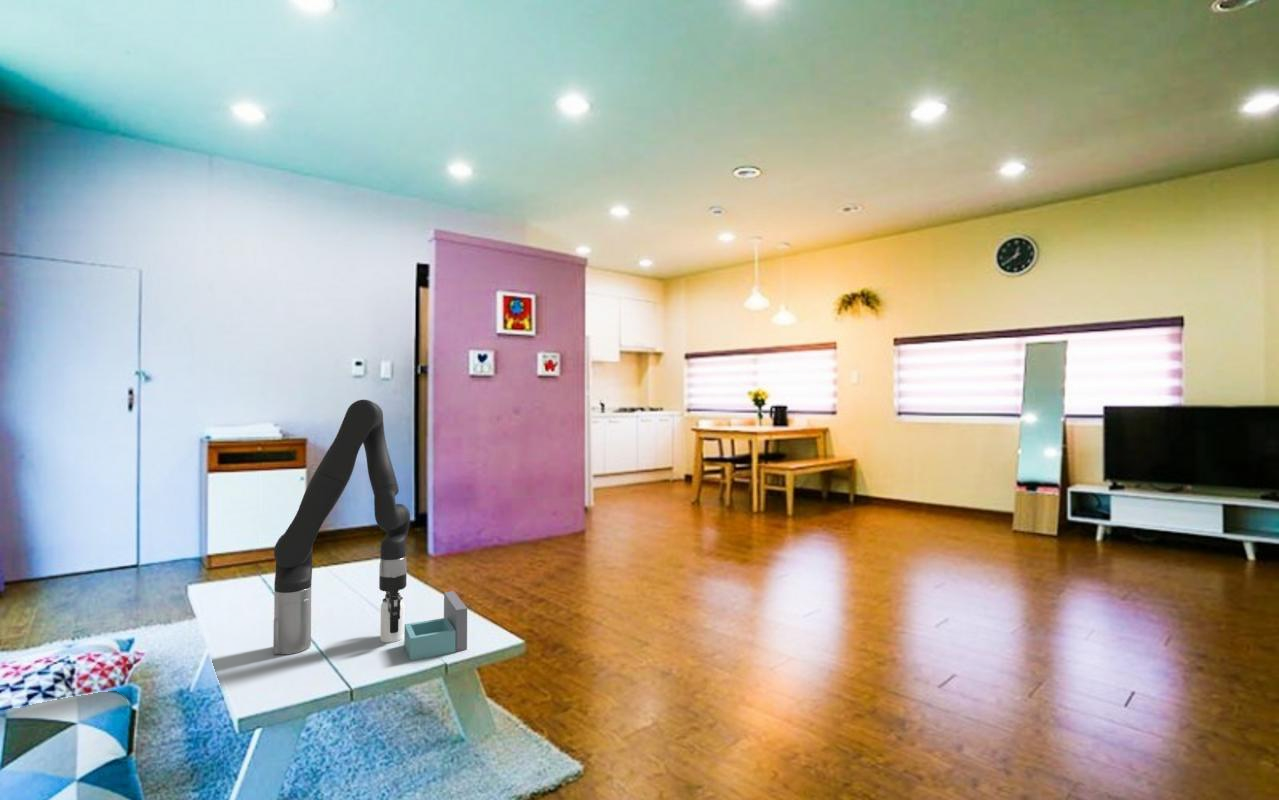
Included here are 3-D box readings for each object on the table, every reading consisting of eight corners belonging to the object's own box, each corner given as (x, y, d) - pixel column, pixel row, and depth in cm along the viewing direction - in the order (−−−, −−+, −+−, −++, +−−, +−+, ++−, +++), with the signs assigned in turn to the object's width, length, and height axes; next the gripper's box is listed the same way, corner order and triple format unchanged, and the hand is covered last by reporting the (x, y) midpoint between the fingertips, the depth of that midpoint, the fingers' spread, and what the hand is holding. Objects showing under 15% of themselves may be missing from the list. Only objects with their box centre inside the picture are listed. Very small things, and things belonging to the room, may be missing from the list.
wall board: (456, 652, 172) (456, 609, 172) (443, 631, 188) (444, 592, 188) (466, 650, 174) (467, 608, 174) (453, 629, 189) (454, 590, 189)
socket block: (410, 660, 166) (410, 638, 166) (404, 645, 176) (404, 624, 176) (455, 652, 172) (455, 630, 172) (447, 637, 182) (447, 617, 182)
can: (407, 639, 182) (408, 598, 182) (386, 645, 177) (387, 604, 177) (397, 633, 186) (397, 594, 186) (376, 639, 181) (377, 599, 181)
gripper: (377, 568, 186) (376, 622, 186) (381, 580, 173) (381, 639, 173) (403, 565, 190) (402, 618, 190) (409, 576, 177) (409, 634, 177)
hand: (392, 628), depth 181 cm, fingers closed on can, 6 cm apart
